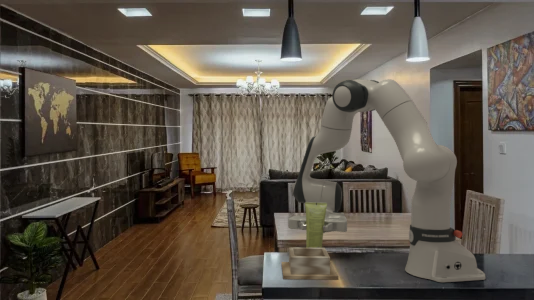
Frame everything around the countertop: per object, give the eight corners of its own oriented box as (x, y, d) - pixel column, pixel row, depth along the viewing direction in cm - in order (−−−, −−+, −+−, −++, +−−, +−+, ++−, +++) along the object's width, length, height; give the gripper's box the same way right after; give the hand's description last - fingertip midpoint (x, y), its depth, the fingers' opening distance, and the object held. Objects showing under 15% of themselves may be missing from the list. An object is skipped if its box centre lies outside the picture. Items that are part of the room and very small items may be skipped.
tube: (312, 257, 146) (315, 200, 145) (325, 260, 142) (327, 202, 142) (302, 260, 142) (304, 202, 141) (315, 264, 138) (317, 204, 138)
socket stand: (331, 265, 138) (331, 246, 138) (338, 279, 124) (338, 258, 124) (281, 264, 138) (281, 246, 138) (283, 279, 124) (283, 258, 124)
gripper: (292, 210, 157) (283, 217, 143) (348, 212, 151) (345, 220, 138) (292, 227, 157) (283, 235, 143) (348, 230, 151) (345, 239, 138)
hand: (314, 228), depth 141 cm, fingers closed on tube, 6 cm apart
